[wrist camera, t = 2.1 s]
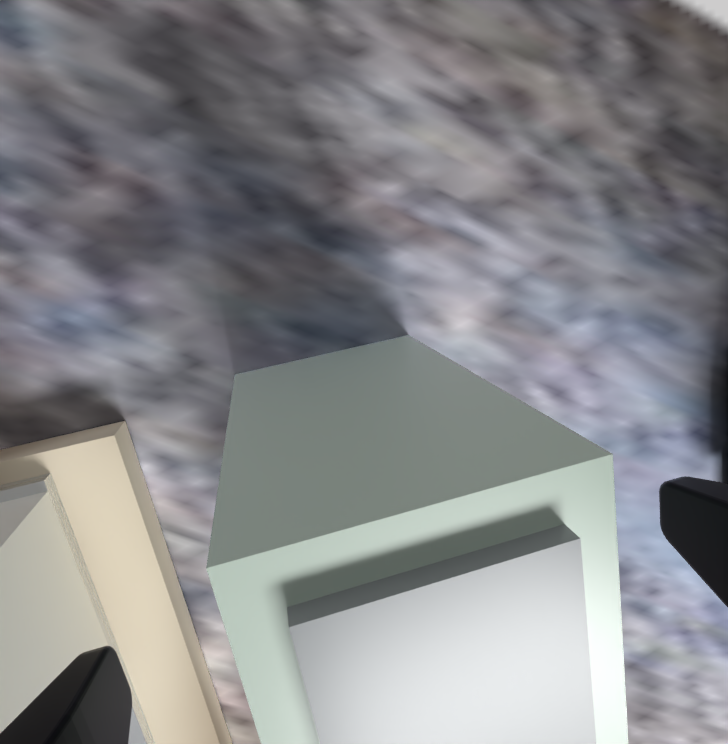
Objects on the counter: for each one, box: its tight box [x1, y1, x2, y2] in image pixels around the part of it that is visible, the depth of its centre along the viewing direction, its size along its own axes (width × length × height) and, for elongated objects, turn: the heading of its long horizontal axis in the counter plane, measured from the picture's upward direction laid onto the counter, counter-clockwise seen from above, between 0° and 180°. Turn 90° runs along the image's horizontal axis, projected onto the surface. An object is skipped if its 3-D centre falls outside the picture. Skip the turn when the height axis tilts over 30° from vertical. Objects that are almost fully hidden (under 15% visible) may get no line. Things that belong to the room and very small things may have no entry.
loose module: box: [206, 335, 628, 744], centre depth 10 cm, size 4×5×8 cm
